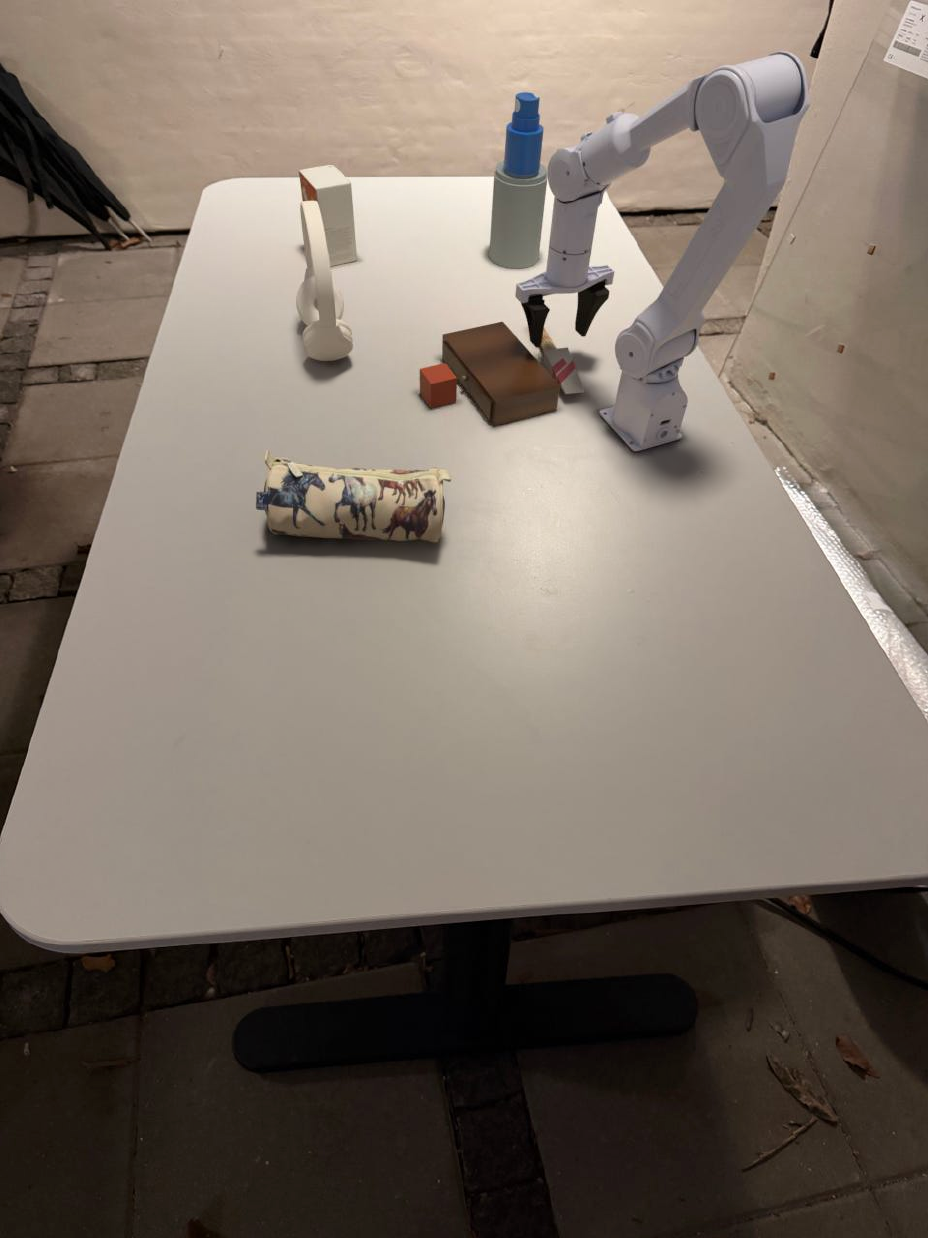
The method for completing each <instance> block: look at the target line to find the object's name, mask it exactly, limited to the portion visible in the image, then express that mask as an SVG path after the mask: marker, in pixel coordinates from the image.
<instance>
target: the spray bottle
mask: <svg viewBox="0 0 928 1238" xmlns="http://www.w3.org/2000/svg"><path fill="white" fill-rule="evenodd" d="M540 100H541V97H540V96H538V97H536V96H535V94H534V93H532V92H528V91H525V92H523V91H522V92H518V93H516V94H515V98H514V111H513V112H512V114H511V122H509V123H507V124H506V128H505V129H506V130H505V143H504V158H503V160H501V161H500V162H498V163H497V164H496V166H495V170H494V171H493V187H492V203H491V204H492V205H491V221H490V237H489V253H488V254H489V255H488V258H489V259H490V261H492V262H493V263H494V264H495V265H498V266H500V267H502V268H506V269H517V270H519V269H527V268H529V267H532V266H534V265H536V264H537V263H538V261H539V258H540V247H541V240H542V231H543V222H544V212H545V204H546V195H547V185H548V176H547V171H548V168H547V167H546V166H545V165H544V164H542V163H541V158H542V151H543V150H542V149H543V140H544V139H543V138H544V129H545V128H544V126H543V125H542V124H540V119H541V114H540V113H539V112H540V111H539V108H540Z"/></svg>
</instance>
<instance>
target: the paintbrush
mask: <svg viewBox="0 0 928 1238" xmlns="http://www.w3.org/2000/svg"><path fill="white" fill-rule="evenodd" d="M540 347H541V348H542V350H543V362H542V364H541V365H542V366H543V367H544V368H545V369H546V371H547V372H548V373H549V374H550V375H551V376H552V377H553V378H554V380H555V381H556V382H557V383H558V384H559V385H560V389H561V390H562V392H564V394H565V395H569V394H578V393H585V389H584V387H583V384H582V381H581V379H580V376H579V373H578V371H577V368H576V365H575V363H574V361H573V360H574V359H573V357H572V355H571V352H570V349H569V347H561V348H560V347H559V348H557V347H556V345H555V343H554V342H553V340H552V338H551V337H550V335H549V333H548V332H547V330H546V327H544V329H543V337H542V343H541V346H540Z"/></svg>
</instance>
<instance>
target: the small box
mask: <svg viewBox="0 0 928 1238" xmlns="http://www.w3.org/2000/svg"><path fill="white" fill-rule="evenodd" d="M298 176H299V184H300V192H301V202H303V201H317V203H318V205H319V209H320V213H321V217H322V222H323V227H324V232H325V238H326V243H327V249H328V253H329V260H330V267H334V266H338V265H345V264H347V263H348V264H349V263H352V262H356V261H357V260H358V254H357V241H356V229H355V216H354V203H353V190H352V189H353V188H352V182H351V181H350V180H349V179H348V178H347V177H346V175H344V173H343V172H341V171H340V170H339V169H338V168H337V166H335V165H334V164H327V165H320V166H314V167H308V168H304V169H299V170H298Z"/></svg>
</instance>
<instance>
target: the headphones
mask: <svg viewBox="0 0 928 1238" xmlns="http://www.w3.org/2000/svg"><path fill="white" fill-rule="evenodd" d="M299 205H300V207H299V211H300V221H301V231H302V237H303V238H302V239H303V248H304V254H305V262H306V268H305V271H304V279H303V281H302V283H301V284H300V286H299V288H298V290H297V294H296V296H295V297H296V298H295V306H296V310H297V314H298V316H299V317H300V319H301V320H302V322H303V323H304V324H305V325H306V327H305V328H304V330H303V332H302V341H303V345H304V348H305V352H306V355H307V356H308V357H309V358H311V359H313V360H315V361H321V362H332V361H337V360H341V359H343V358H345V357H346V356H348V355H349V354H350V353H351V352H352V350H353V348H354V343H353V337H352V336H353V332H352V328H351V327H350V325H349V324H347V322H345V321H343V320H341V319H342V317H343V314H344V310H345V303H344V297H343V295H342V292H341V290H340V289H339V288H338V286H337V285H336V283H335V282H334V281H333V276H332V275H333V273H332V268H331V267H332V266H330V260H329V253H328V249H327V243H326V238H325V232H324V227H323V222H322V217H321V213H320V209H319V205H318V203H317V201H301V202H300V204H299Z"/></svg>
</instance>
